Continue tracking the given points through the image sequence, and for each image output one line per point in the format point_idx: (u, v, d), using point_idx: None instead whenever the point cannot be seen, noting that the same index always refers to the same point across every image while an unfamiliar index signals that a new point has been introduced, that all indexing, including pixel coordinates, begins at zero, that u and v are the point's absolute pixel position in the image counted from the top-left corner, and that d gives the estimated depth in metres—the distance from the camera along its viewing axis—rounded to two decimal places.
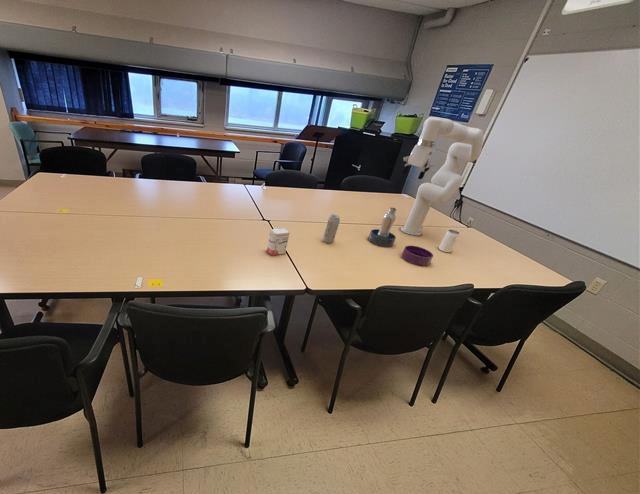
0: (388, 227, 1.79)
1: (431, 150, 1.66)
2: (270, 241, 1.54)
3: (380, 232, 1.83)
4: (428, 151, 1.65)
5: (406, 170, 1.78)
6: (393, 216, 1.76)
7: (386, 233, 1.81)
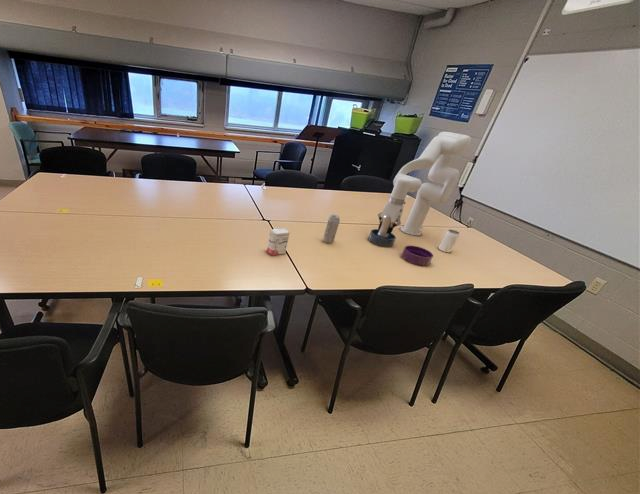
0: (388, 227, 1.79)
1: (401, 207, 1.72)
2: (270, 241, 1.54)
3: (380, 232, 1.83)
4: (399, 209, 1.72)
5: None
6: None
7: (386, 233, 1.81)
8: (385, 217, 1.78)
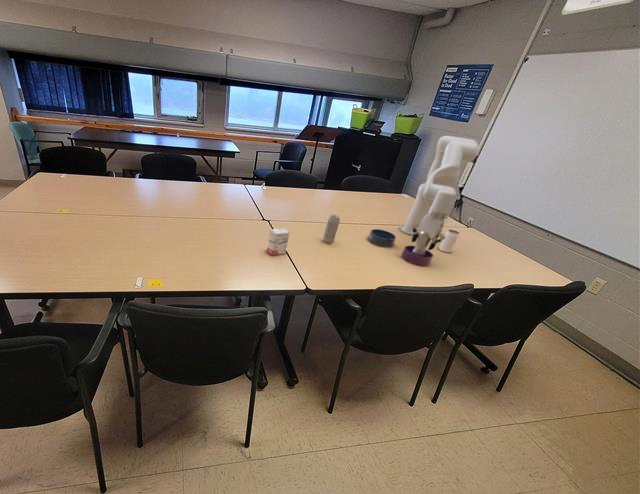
0: (425, 244, 1.64)
1: (443, 222, 1.56)
2: (270, 241, 1.54)
3: (416, 249, 1.67)
4: (439, 224, 1.55)
5: (415, 238, 1.69)
6: None
7: (423, 251, 1.66)
8: (422, 233, 1.62)
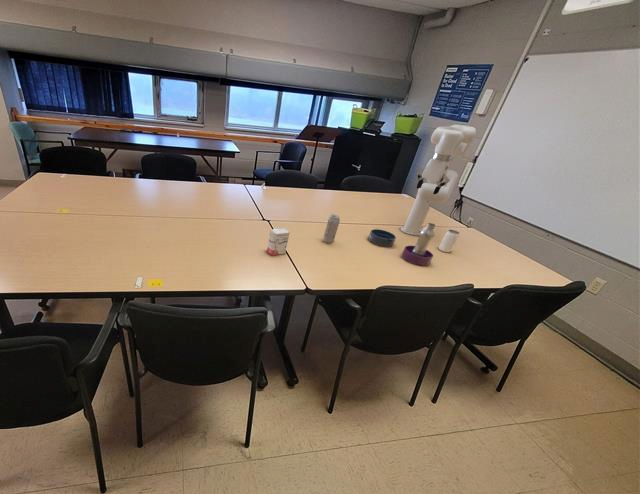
0: (425, 244, 1.64)
1: (447, 164, 1.59)
2: (270, 241, 1.54)
3: (416, 249, 1.67)
4: (444, 166, 1.58)
5: (420, 184, 1.72)
6: (431, 232, 1.60)
7: (423, 251, 1.66)
8: (422, 233, 1.62)
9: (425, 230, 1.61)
